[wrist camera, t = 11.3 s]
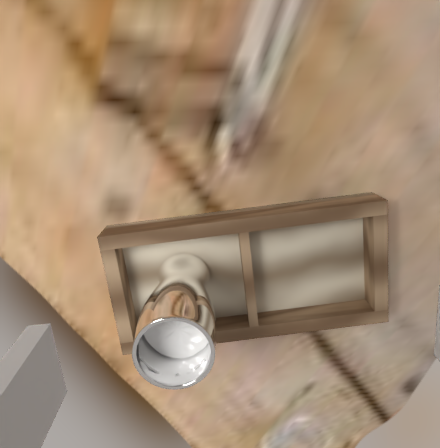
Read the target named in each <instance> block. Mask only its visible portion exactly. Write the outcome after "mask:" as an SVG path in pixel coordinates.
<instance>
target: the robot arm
mask: <svg viewBox="0 0 440 448" xmlns="http://www.w3.org/2000/svg"><path fill="white" fill-rule="evenodd" d="M434 355H435V357H436V358H437V359H438V360H439V361H440V286H439V298H438V311H437V323H436V336H435V349H434ZM66 393H67V390H66V385H65V381H64V377H63V373H62V369H61V365H60V361H59V357H58V353H57V349H56V344H55V341H54V337H53V332H52V328H51V324H40V325H30V326H27V327H26V328H25V330H24V331H23V332H22V333H21V335H20V336H19V337H18V339H17V340H16V341H15V342H14V344H13V345H12V346H11V348H10V349H9V350H8V351H7V353H6V354H5V355H4V357H3V358H2V359H1V360H0V448H41V446H42V444H43V442H44V440H45V438H46V435H47V433H48V431H49V429H50V427H51V425H52V423H53V420H54V418H55V416H56V414H57V412H58V410H59V408H60V406H61V404H62V401H63V399H64V397H65V395H66Z"/></svg>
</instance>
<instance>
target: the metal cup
mask: <svg viewBox="0 0 440 448" xmlns="http://www.w3.org/2000/svg"><path fill="white" fill-rule="evenodd" d="M210 281H211V276H210V271H209V269H208V267H207V265H206V264H205V263H204V262H203V261H202V260H201V259H200V258H198V257H197V256H194V255H191V254H185V253H182V254H176V255H173V256H171V257H169V258H168V259H166V260H165V261H164V262H163V263H162V265H161V266H160V268H159V270H158V274H157V283H158V285H157V287H156V288H155V289H154V290H153V292H152V293H151V294H150V296H149V297H148V299H147V301H146V302H145V304H144V306H143V308H142V311H141V313H140V316H139V319H138V323H137V327H136V333H135V339H134V343H133V347H132V358H133V362H134V365H135V367H136V369H137V371H138V372H139V374H140V375H141V376H142V377H143V378H144V379H145V380H147V381H148V382H150V383H151V384H153V385H155V386H158V387H161V388H165V389H183V388H187V387H190V386H193V385H195V384H197V383H198V382H200V381H201V380H202V379H203V378H205V377H206V375H207V374H208V373H209V372H210V370H211V368H212V366H213V363H214V359H215V346H216V335H217V324H216V315H215V310H214V307H213V304H212V301H211V298H210V296H209V294H208V289H209V286H210Z"/></svg>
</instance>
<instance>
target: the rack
mask: <svg viewBox="0 0 440 448" xmlns="http://www.w3.org/2000/svg"><path fill="white" fill-rule="evenodd" d="M97 238H98V243H99V248H100V252H101V257H102V261H103V266H104V271H105V275H106V280H107V284H108V289H109V294H110V298H111V303H112V307H113V312H114V317H115V321H116V326H117V330H118V335H119V340H120V344H121V349H122V353H123V355H127V354H132V347H133V343H134V339H135V333H136V327H137V323H138V319H139V316H140V313H141V311H142V308H143V306H144V304H145V302H146V301H147V299H148V297H149V296H150V294H151V293H152V292H153V290H154V289H155V288H156V287H157V285H158V283H157V274H158V270H159V268H160V266H161V265H162V263H163V262H164V261H165V260H166V259H168V258H169V257H171V256H173V255H176V254H182V253H185V254H191V255H194V256H197V257H198V258H200V259H201V260H202V261H203V262H204V263H205V264H206V265H207V267H208V269H209V271H210V276H211V281H210V286H209V289H208V294H209V296H210V298H211V301H212V304H213V307H214V310H215V315H216V324H217V335H216V343H223V342H231V341H239V340H247V339H255V338H263V337H271V336H279V335H287V334H295V333H303V332H310V331H318V330H326V329H334V328H342V327H350V326H358V325H366V324H374V323H382V322H388V200H386V199H384V198H382V197H380V196H378V195H376V194H374V193H372V192H370V193H362V194H354V195H346V196H339V197H331V198H323V199H315V200H307V201H299V202H291V203H283V204H275V205H267V206H259V207H252V208H244V209H236V210H228V211H220V212H212V213H204V214H196V215H188V216H180V217H173V218H165V219H157V220H149V221H141V222H133V223H125V224H117V225H109V226H106V228H105V229H104V230H103V231H102V232H101V233H100V235H99V236H98V237H97Z"/></svg>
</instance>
